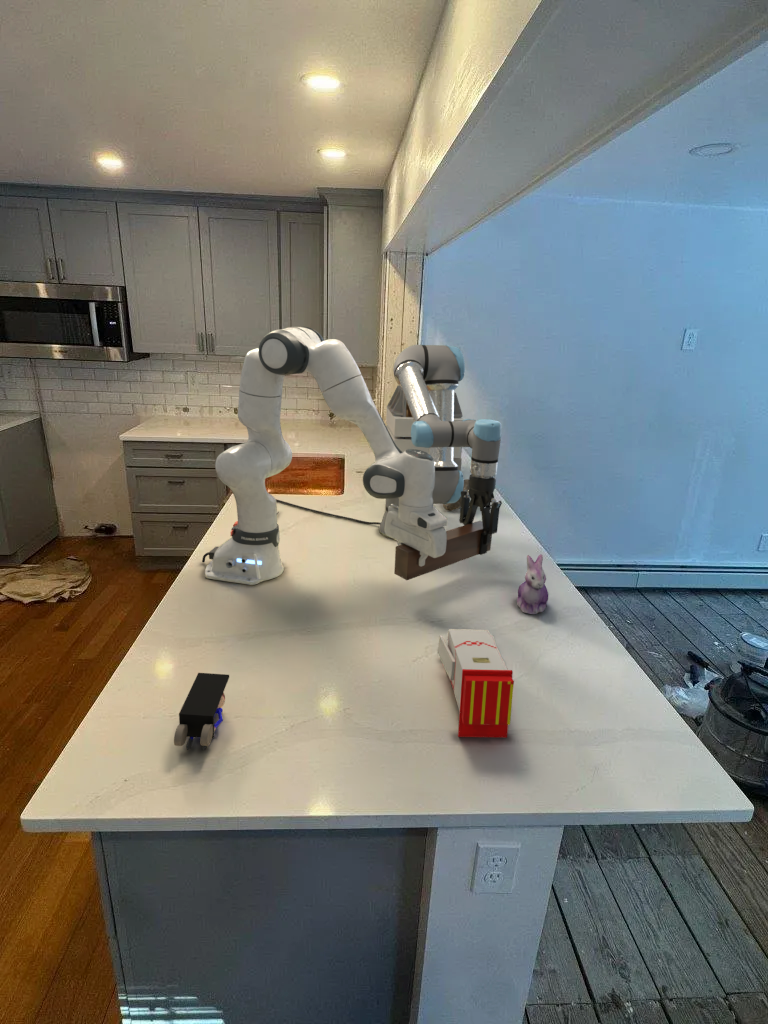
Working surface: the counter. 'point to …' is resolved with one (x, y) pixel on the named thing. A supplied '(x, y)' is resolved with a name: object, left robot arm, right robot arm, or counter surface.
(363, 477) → the left robot arm
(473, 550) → the plank
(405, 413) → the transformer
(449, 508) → the fossil
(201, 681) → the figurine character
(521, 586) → the figurine
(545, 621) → the counter surface
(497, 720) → the toy
